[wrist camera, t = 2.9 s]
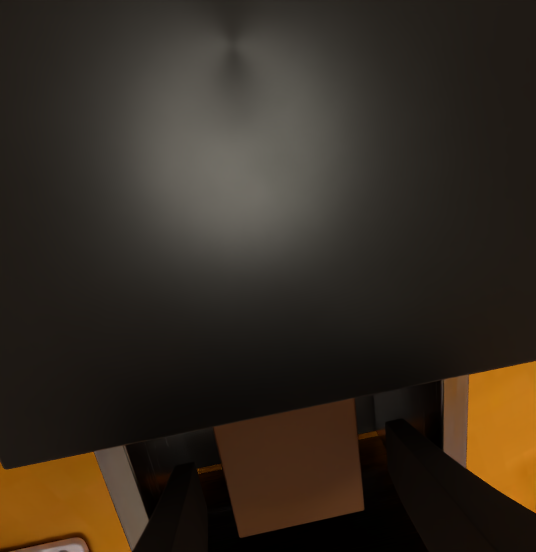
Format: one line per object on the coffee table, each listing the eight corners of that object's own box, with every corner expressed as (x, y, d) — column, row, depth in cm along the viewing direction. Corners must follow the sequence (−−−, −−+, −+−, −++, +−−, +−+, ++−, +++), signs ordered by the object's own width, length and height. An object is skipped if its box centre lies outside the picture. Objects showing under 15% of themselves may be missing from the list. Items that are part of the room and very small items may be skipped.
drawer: (400, 509, 21) (482, 671, 14) (193, 556, 20) (181, 748, 14) (385, 181, 15) (510, 204, 9) (94, 231, 14) (-11, 295, 8)
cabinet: (394, 260, 17) (552, 359, 9) (111, 311, 16) (3, 471, 8) (376, -167, 12) (680, -786, 4) (-24, -124, 11) (-616, -790, 3)
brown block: (235, 452, 17) (239, 539, 13) (208, 332, 15) (203, 394, 11) (333, 431, 17) (365, 511, 13) (319, 311, 15) (352, 364, 11)
